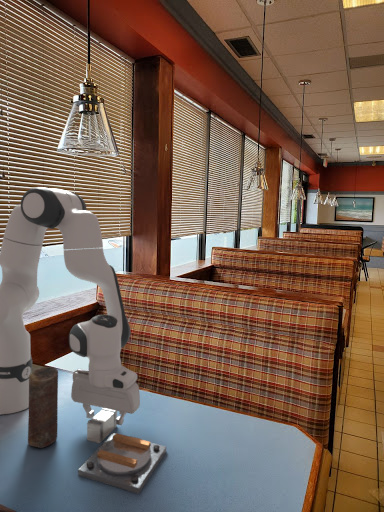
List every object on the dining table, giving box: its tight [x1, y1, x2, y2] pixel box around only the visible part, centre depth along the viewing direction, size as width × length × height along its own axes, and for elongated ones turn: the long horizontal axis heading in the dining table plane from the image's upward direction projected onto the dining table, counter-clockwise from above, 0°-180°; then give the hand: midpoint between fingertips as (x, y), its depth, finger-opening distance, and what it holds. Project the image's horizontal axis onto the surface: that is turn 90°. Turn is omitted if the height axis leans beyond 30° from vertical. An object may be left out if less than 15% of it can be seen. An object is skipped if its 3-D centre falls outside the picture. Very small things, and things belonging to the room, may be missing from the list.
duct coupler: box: [86, 407, 118, 444], centre depth 108 cm, size 4×9×5 cm, turn 161°
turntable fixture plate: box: [77, 432, 167, 495], centre depth 95 cm, size 16×16×4 cm
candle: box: [27, 366, 59, 449], centre depth 101 cm, size 8×7×20 cm
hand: (104, 420), depth 108 cm, fingers open, 8 cm apart
